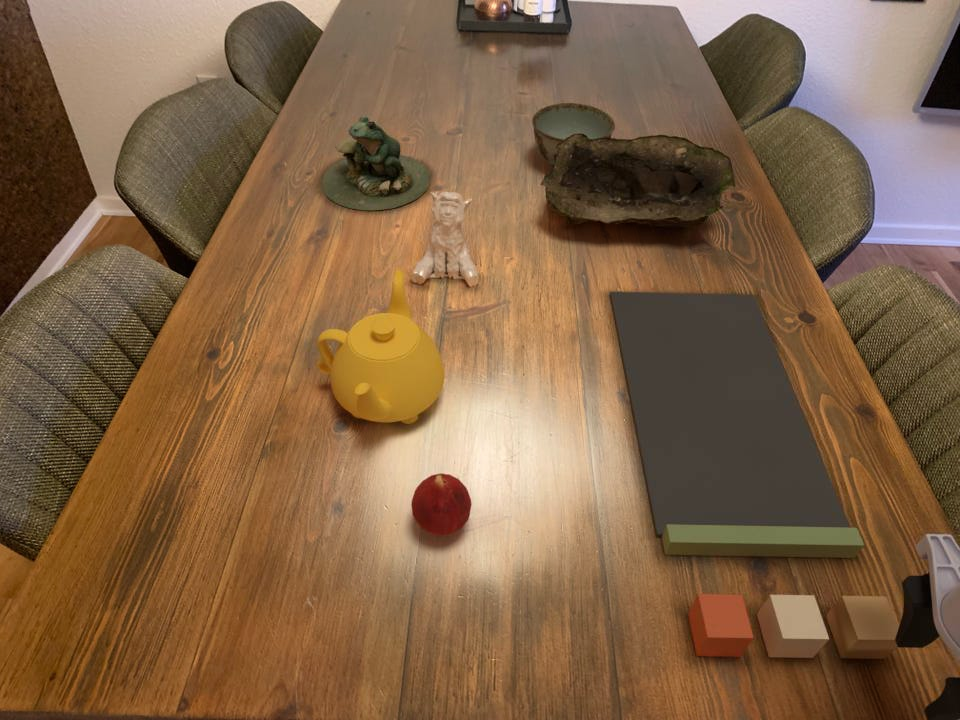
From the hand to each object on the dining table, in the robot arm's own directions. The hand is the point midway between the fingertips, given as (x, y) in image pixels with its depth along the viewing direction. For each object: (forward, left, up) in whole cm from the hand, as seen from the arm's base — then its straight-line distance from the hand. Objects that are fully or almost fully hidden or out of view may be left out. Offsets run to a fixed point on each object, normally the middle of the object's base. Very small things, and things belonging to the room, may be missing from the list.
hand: (923, 678), depth 55 cm
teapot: (+54, +20, -8) cm, 58 cm away
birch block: (+5, -4, -7) cm, 10 cm away
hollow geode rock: (+66, -29, -8) cm, 73 cm away
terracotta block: (+12, +7, -7) cm, 16 cm away
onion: (+35, +23, -8) cm, 43 cm away
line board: (+33, -14, -7) cm, 37 cm away
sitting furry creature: (+71, +1, -8) cm, 72 cm away
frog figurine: (+97, -1, -8) cm, 98 cm away
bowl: (+85, -32, -8) cm, 92 cm away
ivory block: (+9, +2, -7) cm, 12 cm away
